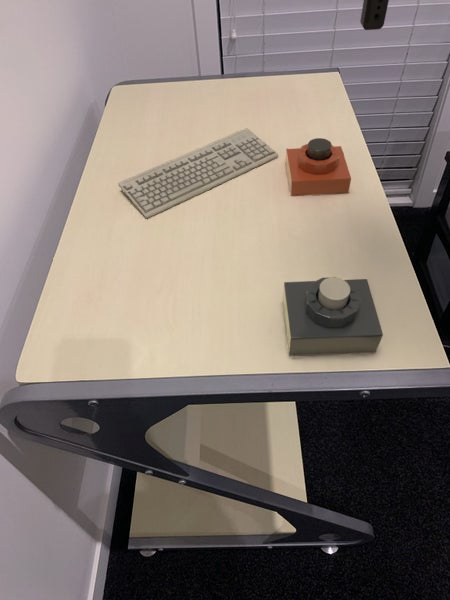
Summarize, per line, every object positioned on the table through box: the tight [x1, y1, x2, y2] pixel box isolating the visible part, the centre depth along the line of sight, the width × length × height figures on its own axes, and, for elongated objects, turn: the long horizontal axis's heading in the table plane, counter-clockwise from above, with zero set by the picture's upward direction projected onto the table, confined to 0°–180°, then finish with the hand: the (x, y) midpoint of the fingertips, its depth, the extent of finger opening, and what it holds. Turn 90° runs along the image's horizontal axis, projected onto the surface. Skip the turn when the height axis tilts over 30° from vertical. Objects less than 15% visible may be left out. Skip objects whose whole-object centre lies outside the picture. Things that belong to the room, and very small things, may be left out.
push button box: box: [282, 276, 384, 356], centre depth 55 cm, size 11×9×6 cm
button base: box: [285, 143, 352, 197], centre depth 76 cm, size 10×10×5 cm
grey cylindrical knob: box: [318, 276, 350, 310], centre depth 52 cm, size 4×4×2 cm
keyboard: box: [117, 127, 279, 219], centre depth 80 cm, size 29×10×2 cm, turn 125°
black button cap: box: [307, 137, 333, 161], centre depth 74 cm, size 4×4×2 cm
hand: (371, 26), depth 47 cm, fingers closed
